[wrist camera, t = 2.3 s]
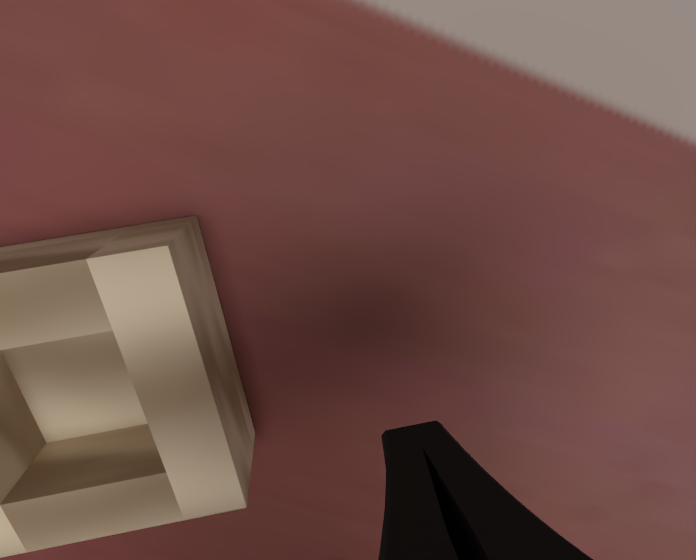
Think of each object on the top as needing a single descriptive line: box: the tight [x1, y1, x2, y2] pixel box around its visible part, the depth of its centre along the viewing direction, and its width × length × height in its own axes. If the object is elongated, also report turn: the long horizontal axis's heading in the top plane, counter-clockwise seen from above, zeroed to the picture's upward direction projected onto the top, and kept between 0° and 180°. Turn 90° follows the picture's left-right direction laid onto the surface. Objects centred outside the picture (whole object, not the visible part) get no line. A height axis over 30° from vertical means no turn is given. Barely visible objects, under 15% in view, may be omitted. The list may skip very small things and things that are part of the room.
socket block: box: [0, 215, 255, 558], centre depth 16 cm, size 10×10×4 cm
